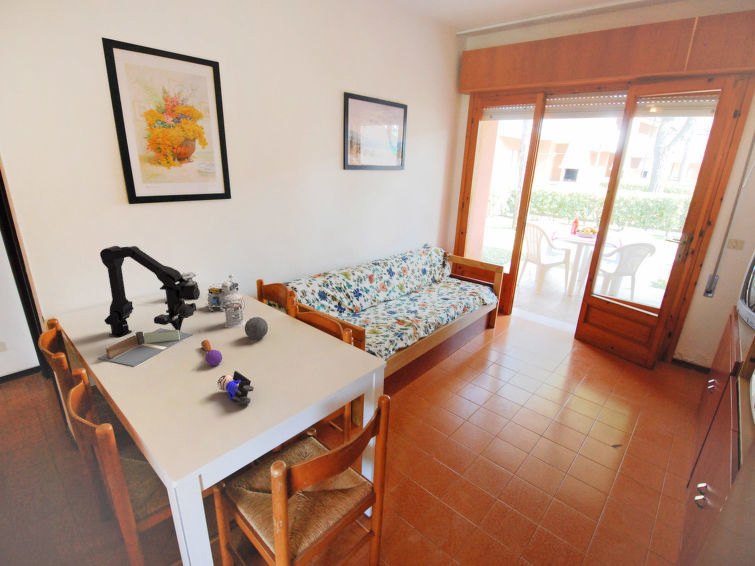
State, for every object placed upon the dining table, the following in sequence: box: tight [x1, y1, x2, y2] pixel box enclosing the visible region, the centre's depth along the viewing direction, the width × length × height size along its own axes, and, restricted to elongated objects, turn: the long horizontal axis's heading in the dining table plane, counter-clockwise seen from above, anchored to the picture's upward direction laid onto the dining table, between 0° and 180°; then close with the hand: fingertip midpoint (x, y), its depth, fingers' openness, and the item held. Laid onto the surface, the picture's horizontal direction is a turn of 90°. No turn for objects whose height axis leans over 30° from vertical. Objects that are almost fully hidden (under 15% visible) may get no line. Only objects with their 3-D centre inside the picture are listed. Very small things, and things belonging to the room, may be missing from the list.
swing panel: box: [143, 329, 180, 343], centre depth 159 cm, size 2×13×4 cm, turn 109°
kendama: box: [200, 339, 223, 367], centre depth 149 cm, size 6×6×20 cm
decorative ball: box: [244, 316, 269, 340], centre depth 165 cm, size 10×10×10 cm
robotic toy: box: [205, 280, 239, 312], centre depth 198 cm, size 13×17×15 cm
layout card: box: [97, 328, 193, 368], centre depth 156 cm, size 18×30×1 cm, turn 164°
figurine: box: [180, 271, 199, 288], centre depth 210 cm, size 9×12×15 cm
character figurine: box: [217, 370, 254, 405], centre depth 123 cm, size 8×7×15 cm
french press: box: [224, 274, 247, 329], centre depth 178 cm, size 10×12×25 cm
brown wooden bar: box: [105, 331, 144, 359], centre depth 150 cm, size 3×16×5 cm, turn 164°
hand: (178, 331), depth 166 cm, fingers closed
